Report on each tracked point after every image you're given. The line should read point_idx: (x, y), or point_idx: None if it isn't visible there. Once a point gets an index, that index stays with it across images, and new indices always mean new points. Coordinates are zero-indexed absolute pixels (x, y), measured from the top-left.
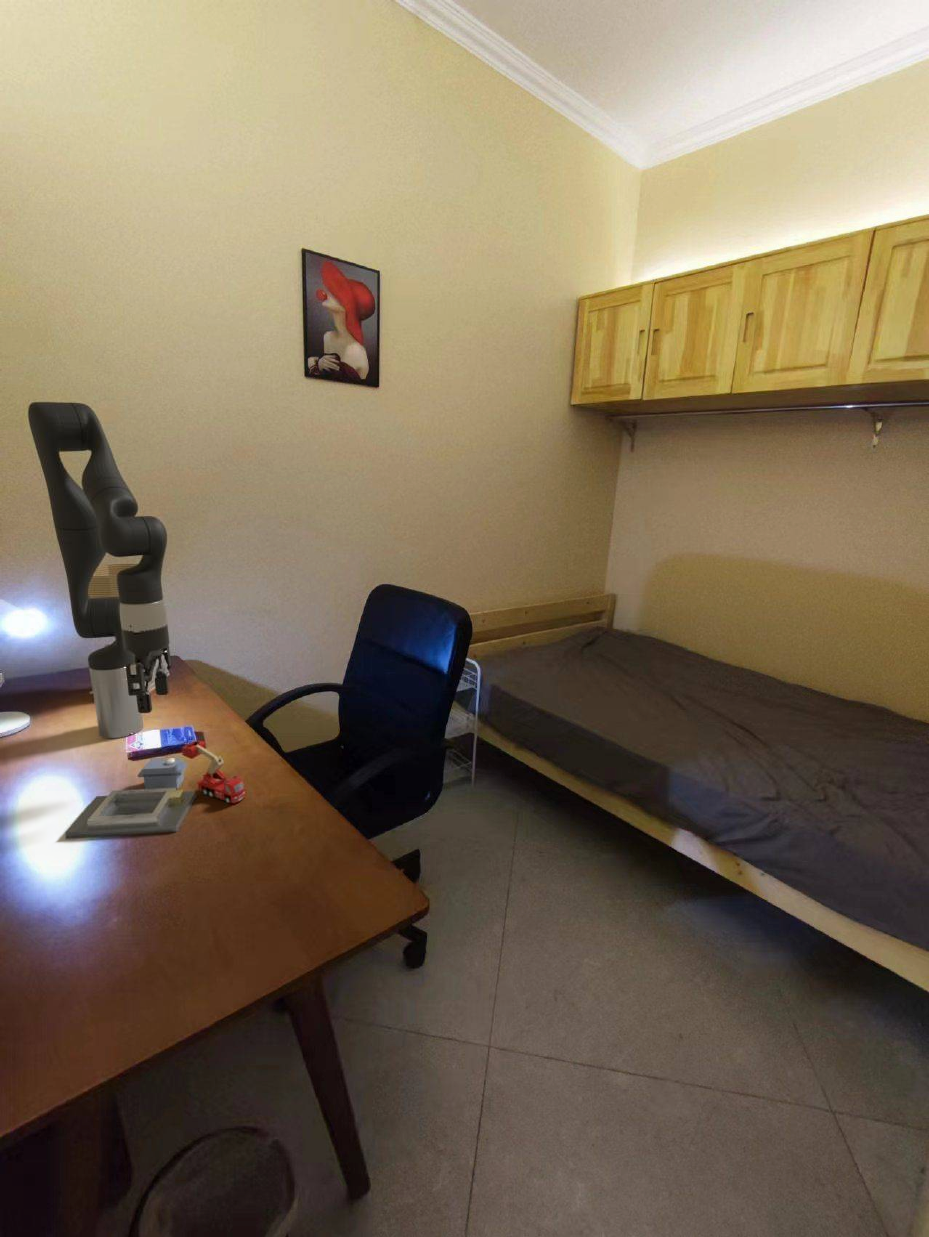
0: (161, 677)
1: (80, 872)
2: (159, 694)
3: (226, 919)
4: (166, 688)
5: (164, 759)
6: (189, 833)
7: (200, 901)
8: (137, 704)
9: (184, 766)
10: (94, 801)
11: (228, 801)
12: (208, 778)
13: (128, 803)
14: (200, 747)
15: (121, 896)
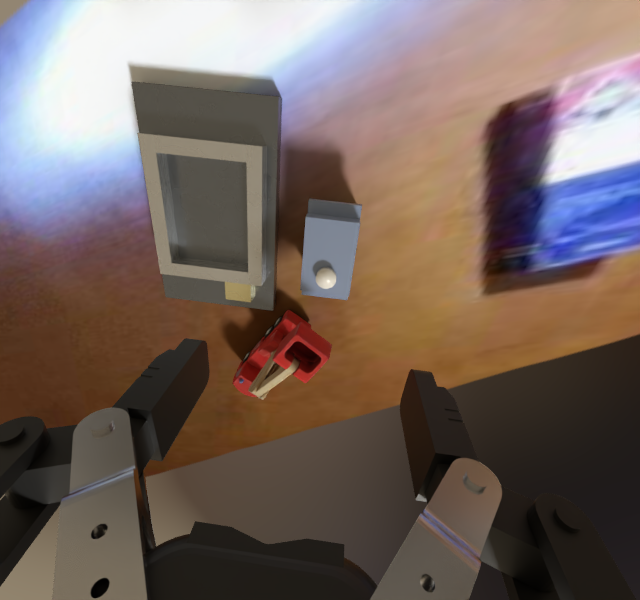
0: (431, 483)
1: (55, 163)
2: (408, 378)
3: (22, 367)
4: (404, 432)
5: (348, 258)
6: (168, 310)
7: (40, 341)
8: (164, 363)
9: (329, 296)
10: (254, 101)
11: (246, 356)
12: (265, 347)
13: (239, 191)
14: (283, 375)
15: (24, 248)
